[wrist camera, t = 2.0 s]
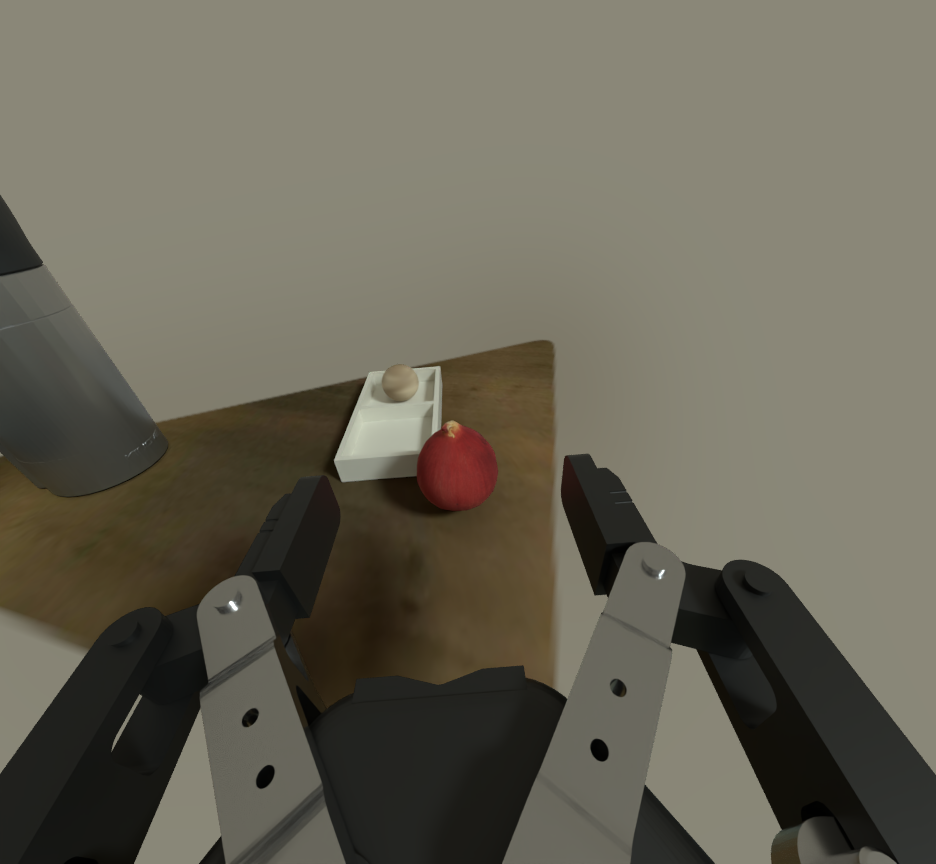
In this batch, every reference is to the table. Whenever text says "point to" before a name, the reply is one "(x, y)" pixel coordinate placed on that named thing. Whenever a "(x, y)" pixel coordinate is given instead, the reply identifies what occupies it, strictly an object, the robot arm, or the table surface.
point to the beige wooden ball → (400, 382)
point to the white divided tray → (390, 429)
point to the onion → (456, 468)
